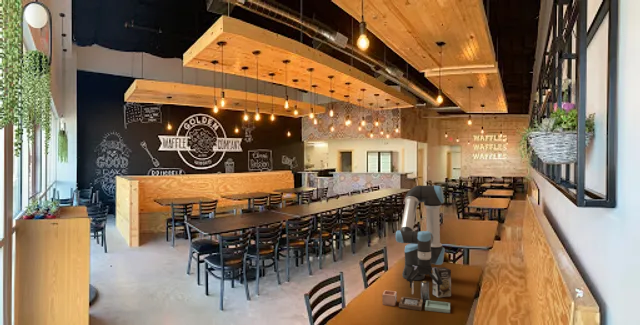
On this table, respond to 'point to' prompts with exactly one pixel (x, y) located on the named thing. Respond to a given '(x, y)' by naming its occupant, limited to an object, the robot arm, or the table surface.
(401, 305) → the base
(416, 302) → the pale grey square tile
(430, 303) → the tray
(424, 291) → the cell
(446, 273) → the coffee box
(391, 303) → the pink open box
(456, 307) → the table surface
